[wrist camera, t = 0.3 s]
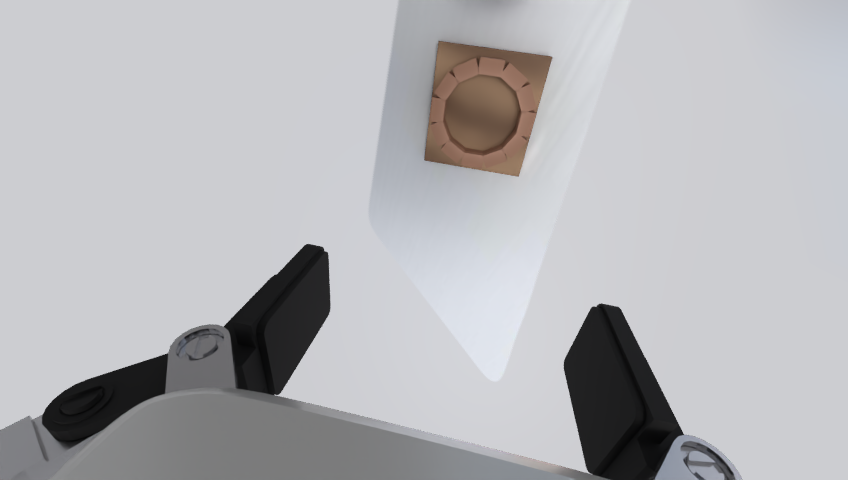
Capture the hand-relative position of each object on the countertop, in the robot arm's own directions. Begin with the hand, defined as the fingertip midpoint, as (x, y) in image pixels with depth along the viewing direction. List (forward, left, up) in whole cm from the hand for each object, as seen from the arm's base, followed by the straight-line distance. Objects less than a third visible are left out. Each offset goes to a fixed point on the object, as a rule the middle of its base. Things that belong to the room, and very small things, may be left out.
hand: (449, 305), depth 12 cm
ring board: (-2, 0, -29) cm, 29 cm away
